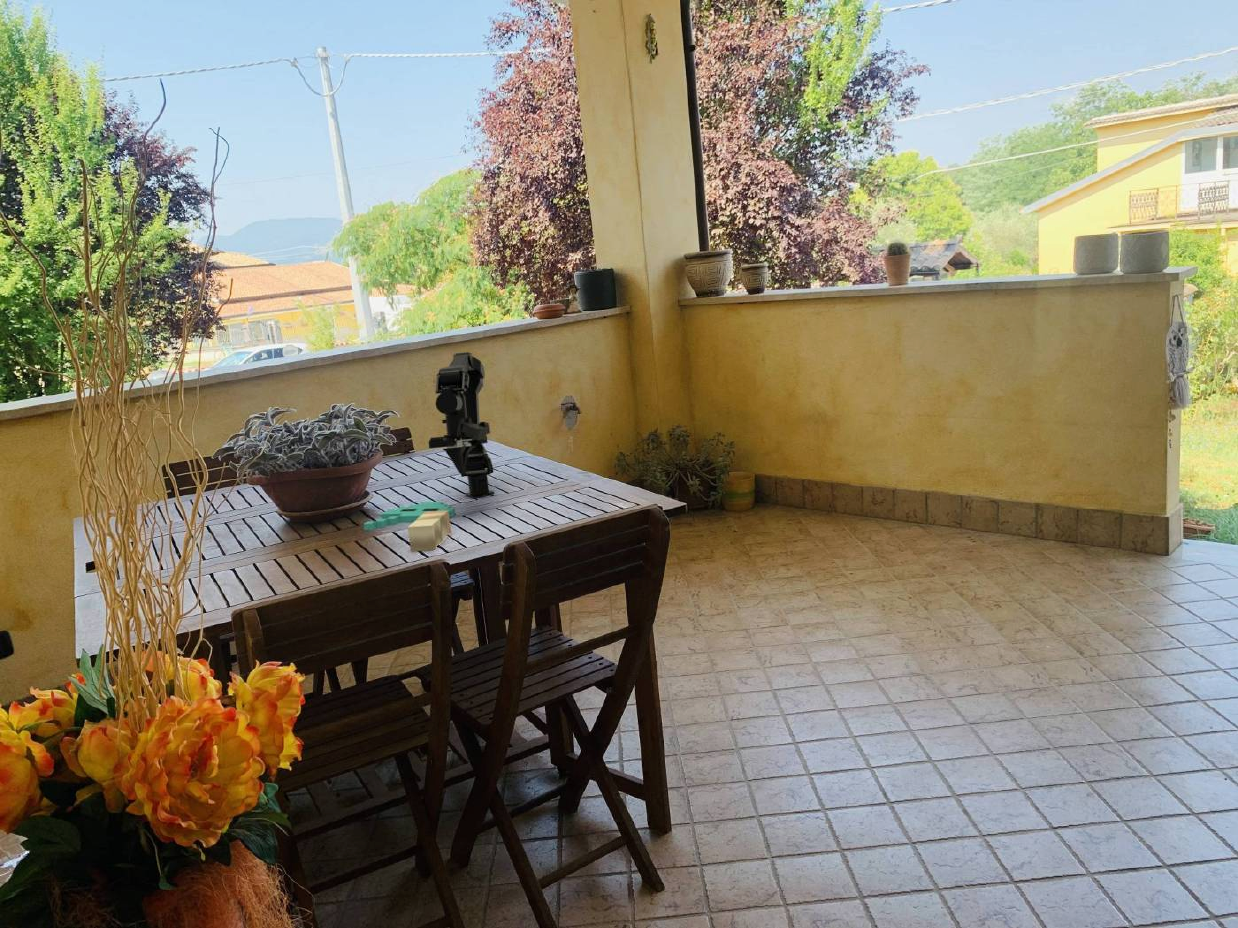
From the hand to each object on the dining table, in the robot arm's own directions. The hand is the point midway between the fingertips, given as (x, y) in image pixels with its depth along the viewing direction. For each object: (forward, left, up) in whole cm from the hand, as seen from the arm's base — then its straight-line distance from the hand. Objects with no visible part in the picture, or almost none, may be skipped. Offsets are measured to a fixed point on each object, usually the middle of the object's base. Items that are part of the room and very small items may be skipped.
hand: (461, 473), depth 244 cm
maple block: (+11, -13, -9) cm, 19 cm away
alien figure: (-8, -11, -12) cm, 19 cm away
